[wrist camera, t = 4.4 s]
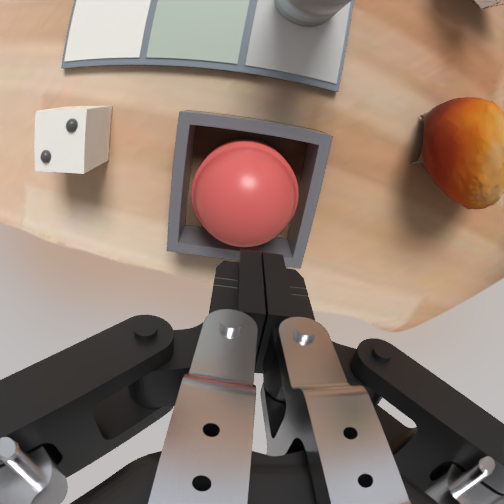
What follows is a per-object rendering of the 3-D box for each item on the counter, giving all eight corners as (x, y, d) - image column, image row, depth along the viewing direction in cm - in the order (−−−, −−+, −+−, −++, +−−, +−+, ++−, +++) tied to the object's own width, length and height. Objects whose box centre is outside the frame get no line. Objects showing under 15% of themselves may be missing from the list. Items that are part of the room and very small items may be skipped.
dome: (299, 146, 20) (320, 163, 15) (281, 232, 23) (293, 276, 18) (203, 131, 19) (189, 143, 14) (193, 220, 22) (178, 261, 17)
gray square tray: (320, 131, 20) (332, 136, 17) (294, 248, 24) (300, 268, 21) (188, 110, 19) (179, 111, 16) (175, 232, 23) (167, 250, 20)
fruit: (392, 84, 17) (505, 98, 11) (438, 94, 21) (522, 110, 14) (389, 197, 21) (490, 234, 15) (434, 182, 24) (512, 208, 18)
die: (112, 106, 18) (84, 109, 15) (108, 160, 20) (81, 175, 16) (65, 106, 18) (32, 111, 14) (63, 158, 20) (32, 172, 16)
